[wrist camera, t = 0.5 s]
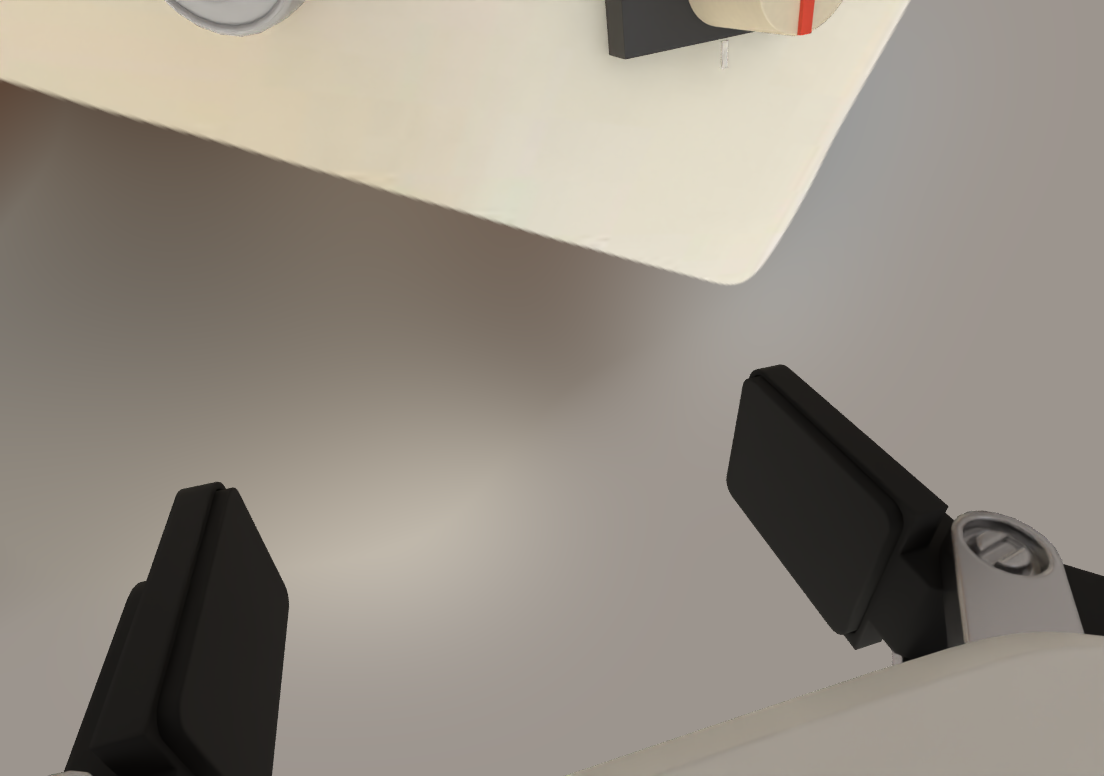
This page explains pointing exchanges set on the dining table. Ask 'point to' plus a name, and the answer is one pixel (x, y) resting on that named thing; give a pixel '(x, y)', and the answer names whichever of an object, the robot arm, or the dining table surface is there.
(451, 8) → the dining table surface
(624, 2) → the hot plate
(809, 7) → the knob
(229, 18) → the beverage can
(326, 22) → the dining table surface
